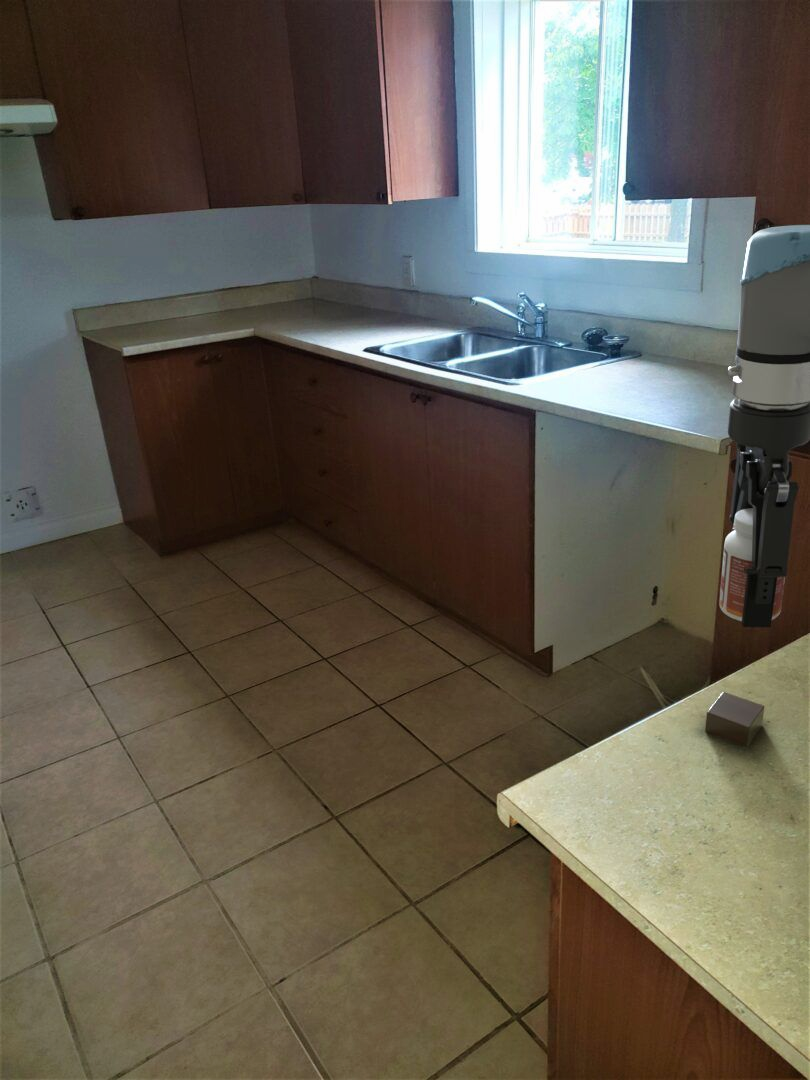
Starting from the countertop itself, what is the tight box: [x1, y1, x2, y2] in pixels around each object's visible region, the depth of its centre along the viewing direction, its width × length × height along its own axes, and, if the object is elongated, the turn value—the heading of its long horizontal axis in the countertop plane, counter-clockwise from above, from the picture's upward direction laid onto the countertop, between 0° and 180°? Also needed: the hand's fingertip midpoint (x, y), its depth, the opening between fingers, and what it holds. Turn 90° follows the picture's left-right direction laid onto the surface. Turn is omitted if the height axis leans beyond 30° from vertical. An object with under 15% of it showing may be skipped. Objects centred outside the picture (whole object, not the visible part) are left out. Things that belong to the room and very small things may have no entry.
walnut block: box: [704, 691, 765, 748], centre depth 98 cm, size 5×5×3 cm
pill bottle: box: [718, 508, 786, 622], centre depth 85 cm, size 6×6×11 cm
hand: (748, 608), depth 88 cm, fingers closed on pill bottle, 6 cm apart
